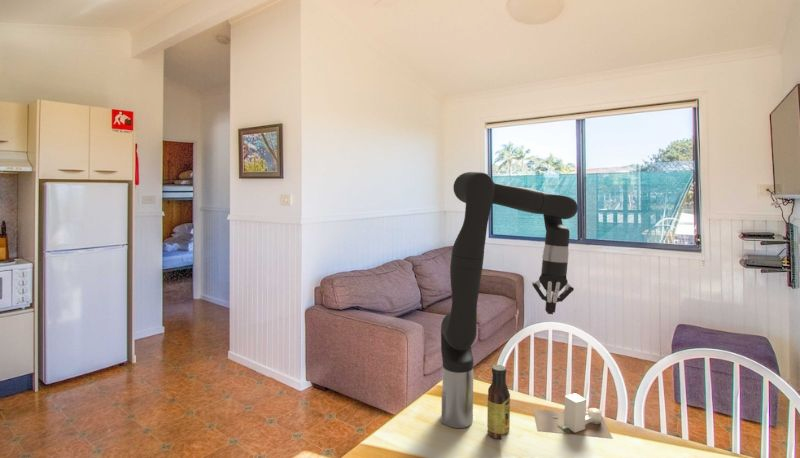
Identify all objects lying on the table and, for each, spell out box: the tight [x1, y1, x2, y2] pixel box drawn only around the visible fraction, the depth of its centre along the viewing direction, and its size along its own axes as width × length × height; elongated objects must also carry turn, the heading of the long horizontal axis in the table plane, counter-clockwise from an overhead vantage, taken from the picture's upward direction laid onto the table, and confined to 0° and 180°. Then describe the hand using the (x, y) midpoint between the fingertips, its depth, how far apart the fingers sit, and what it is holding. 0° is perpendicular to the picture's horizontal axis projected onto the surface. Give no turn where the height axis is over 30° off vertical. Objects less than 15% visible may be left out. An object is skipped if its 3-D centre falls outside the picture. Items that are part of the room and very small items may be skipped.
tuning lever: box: [563, 392, 602, 433], centre depth 126 cm, size 14×4×9 cm, turn 115°
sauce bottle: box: [486, 364, 511, 440], centre depth 124 cm, size 7×6×20 cm
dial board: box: [532, 408, 613, 440], centre depth 128 cm, size 20×12×2 cm, turn 79°
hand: (549, 313), depth 137 cm, fingers closed
